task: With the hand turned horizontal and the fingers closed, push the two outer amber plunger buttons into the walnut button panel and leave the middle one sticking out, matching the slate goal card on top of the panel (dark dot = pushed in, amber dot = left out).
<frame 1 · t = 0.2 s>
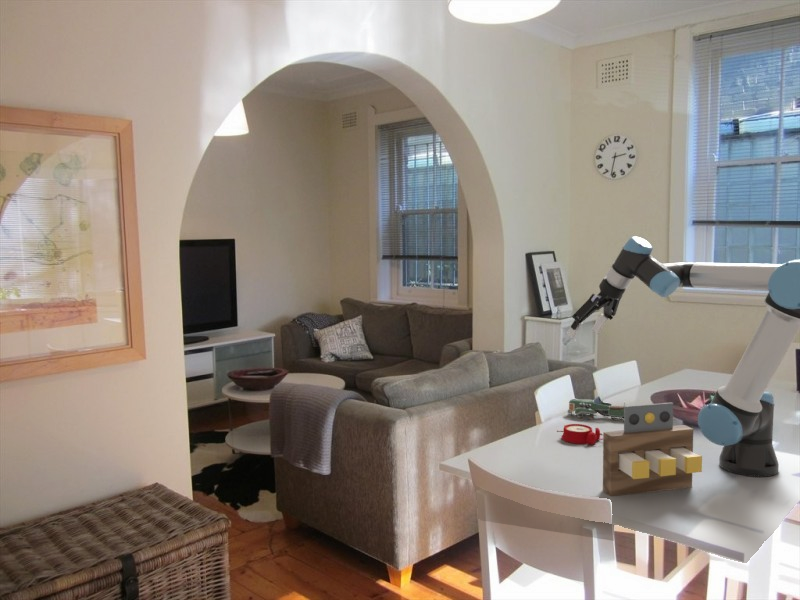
hand: (582, 333, 217), 36 cm above the table, tool tilted 35°, fingers open, 13 cm apart
button 2: (683, 459, 174), point 9 cm above the table, slide at 0.0 cm
goal card: (649, 417, 176), on the panel, point 20 cm above the table
alarm clock: (582, 441, 221), on the table
panel: (651, 491, 176), on the table
hoverbike: (601, 418, 246), on the table
button mid: (658, 461, 173), point 9 cm above the table, slide at 0.0 cm
button 1: (631, 464, 171), point 9 cm above the table, slide at 0.0 cm
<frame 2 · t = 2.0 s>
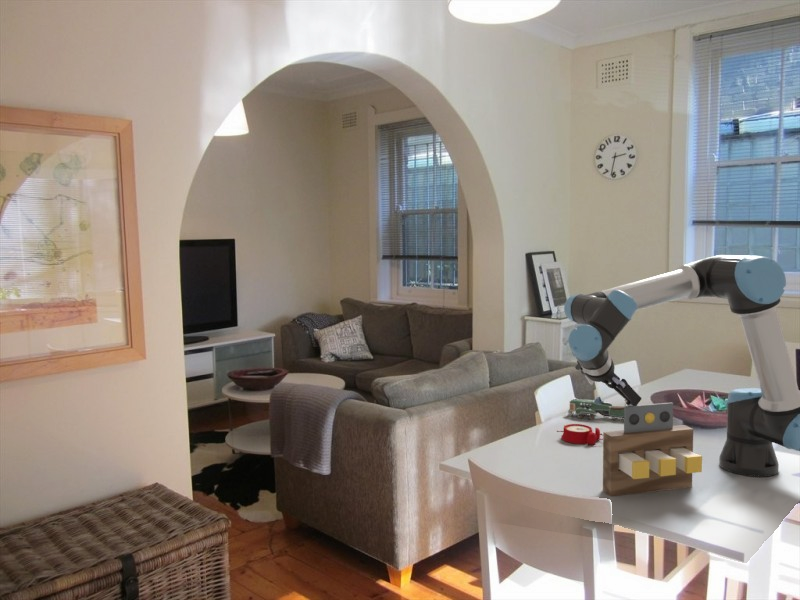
hand: (612, 392, 184), 24 cm above the table, tool tilted 55°, fingers open, 12 cm apart
nothing on the table moved.
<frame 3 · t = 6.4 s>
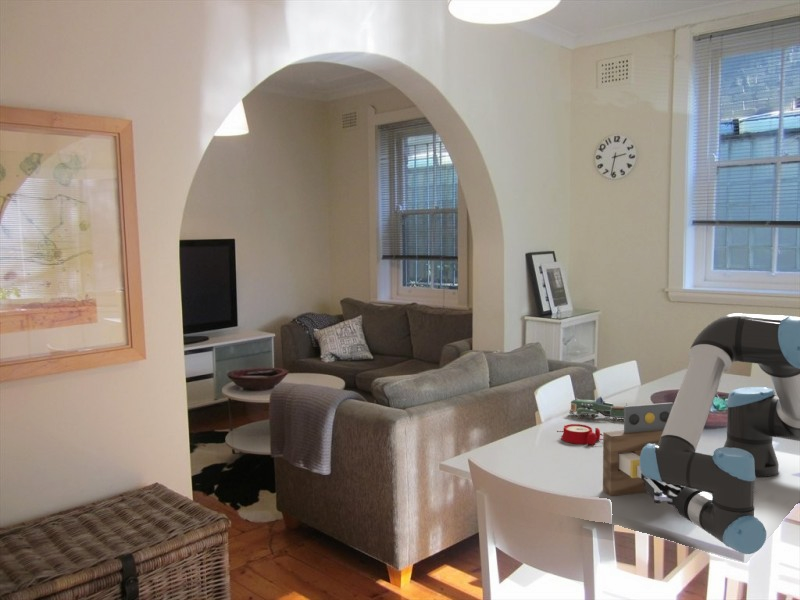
hand: (639, 470, 167), 9 cm above the table, tool horizontal, fingers closed
button 1: (630, 463, 172), point 9 cm above the table, slide at 0.7 cm, touching gripper
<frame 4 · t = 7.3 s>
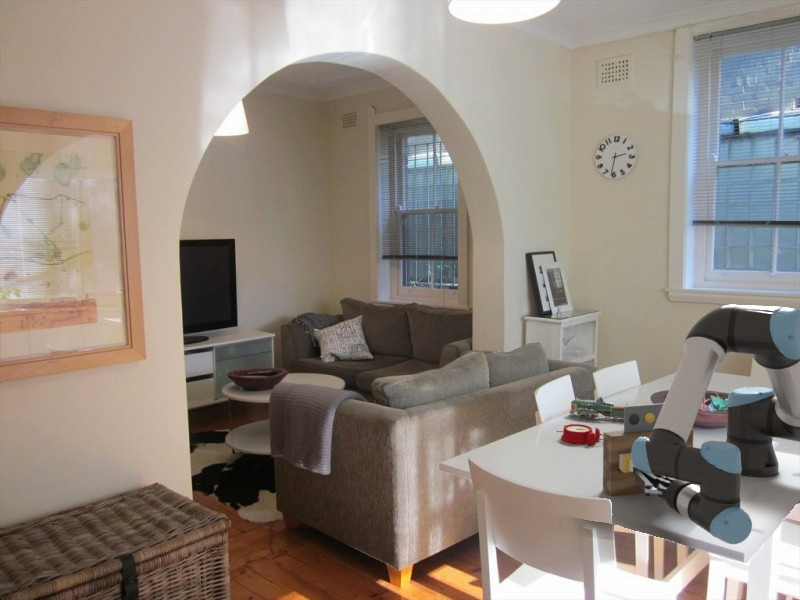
hand: (631, 464, 171), 9 cm above the table, tool horizontal, fingers closed
button 1: (622, 458, 176), point 9 cm above the table, slide at 4.7 cm, touching gripper
everything else where it was.
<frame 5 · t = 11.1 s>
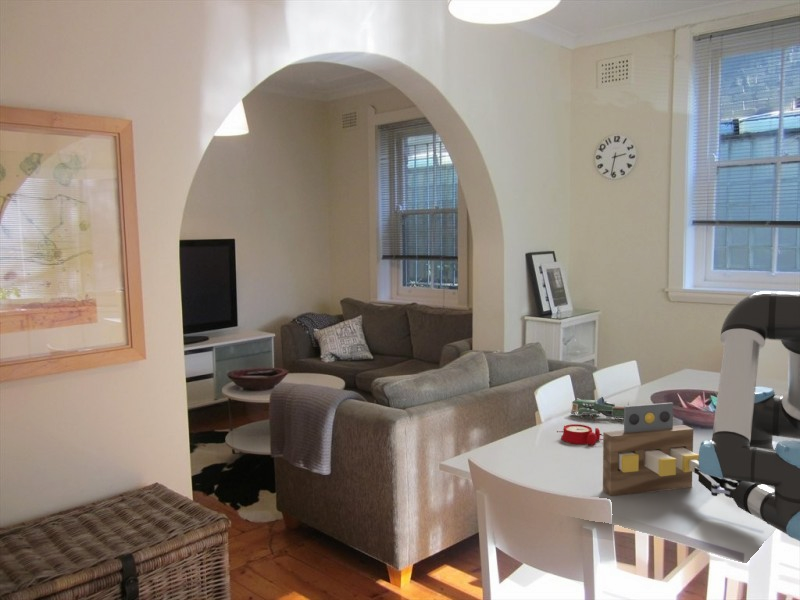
hand: (691, 464, 170), 9 cm above the table, tool horizontal, fingers closed
button 2: (681, 457, 175), point 9 cm above the table, slide at 1.0 cm, touching gripper
button 1: (621, 458, 176), point 9 cm above the table, slide at 4.8 cm
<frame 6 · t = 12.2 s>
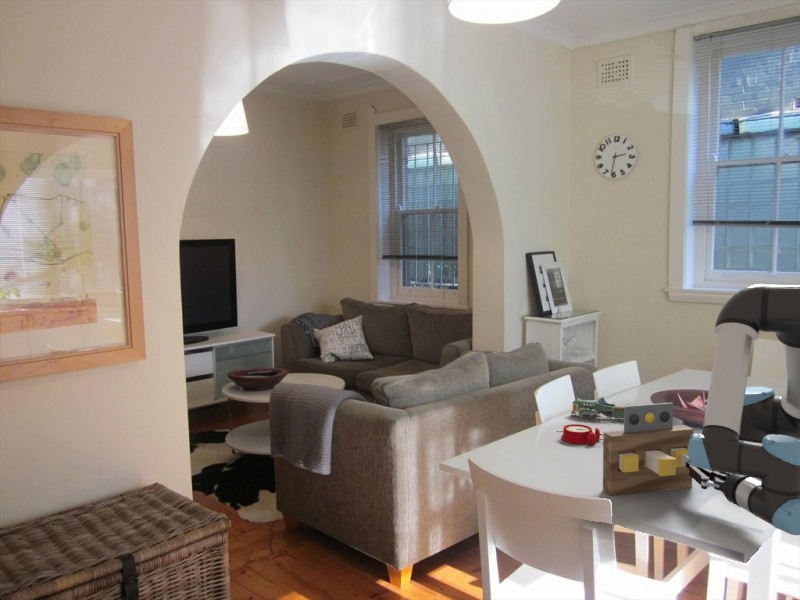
hand: (683, 459, 174), 9 cm above the table, tool horizontal, fingers closed
button 2: (672, 453, 179), point 9 cm above the table, slide at 4.8 cm, touching gripper
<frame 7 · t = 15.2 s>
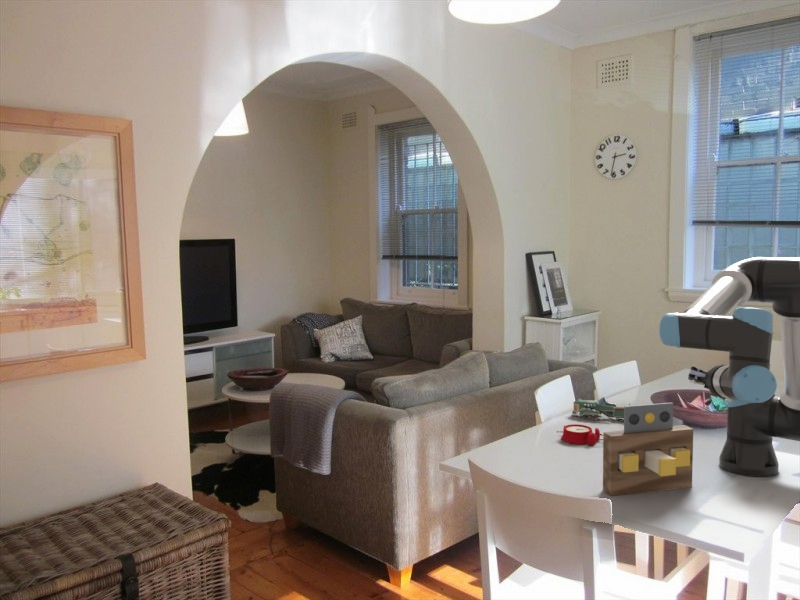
hand: (693, 377, 170), 31 cm above the table, tool horizontal, fingers closed
button 2: (672, 453, 179), point 9 cm above the table, slide at 4.8 cm
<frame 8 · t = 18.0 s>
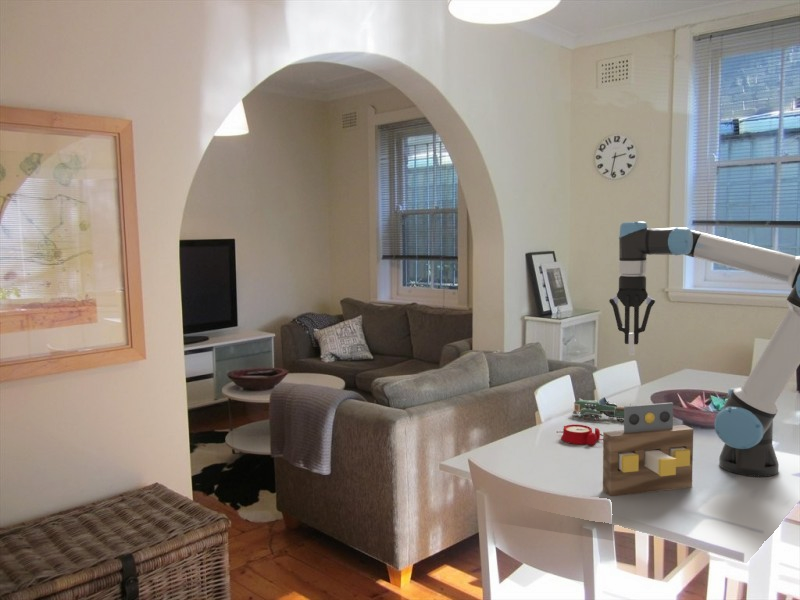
hand: (631, 355, 196), 32 cm above the table, tool pointing down, fingers closed
at the end: button 1 slide at 4.8 cm; button 2 slide at 4.8 cm; button mid slide at 0.0 cm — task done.
